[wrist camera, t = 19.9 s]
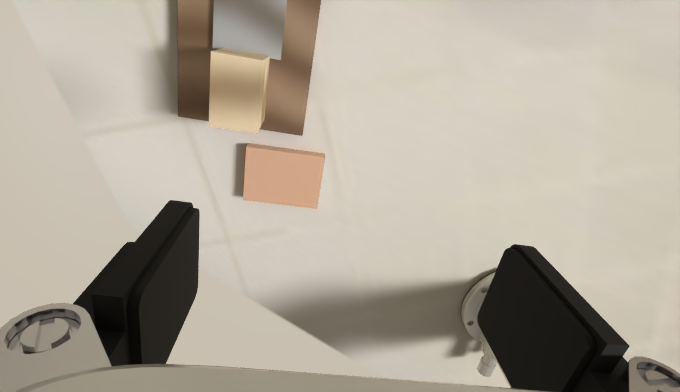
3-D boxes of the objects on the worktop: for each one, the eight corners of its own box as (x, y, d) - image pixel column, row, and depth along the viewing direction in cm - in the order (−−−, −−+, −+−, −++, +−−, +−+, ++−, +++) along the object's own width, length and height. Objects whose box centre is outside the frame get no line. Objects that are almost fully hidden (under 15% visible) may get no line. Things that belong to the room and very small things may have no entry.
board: (302, 132, 38) (302, 135, 37) (182, 113, 37) (178, 116, 36) (323, -22, 32) (324, -24, 31) (182, -52, 31) (177, -55, 30)
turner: (274, 121, 36) (268, 135, 32) (211, 111, 36) (196, 124, 31) (289, -28, 31) (285, -37, 27) (216, -43, 30) (199, -55, 26)
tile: (316, 208, 41) (242, 199, 40) (316, 202, 42) (245, 193, 41) (324, 157, 38) (246, 146, 37) (324, 152, 40) (248, 142, 39)
